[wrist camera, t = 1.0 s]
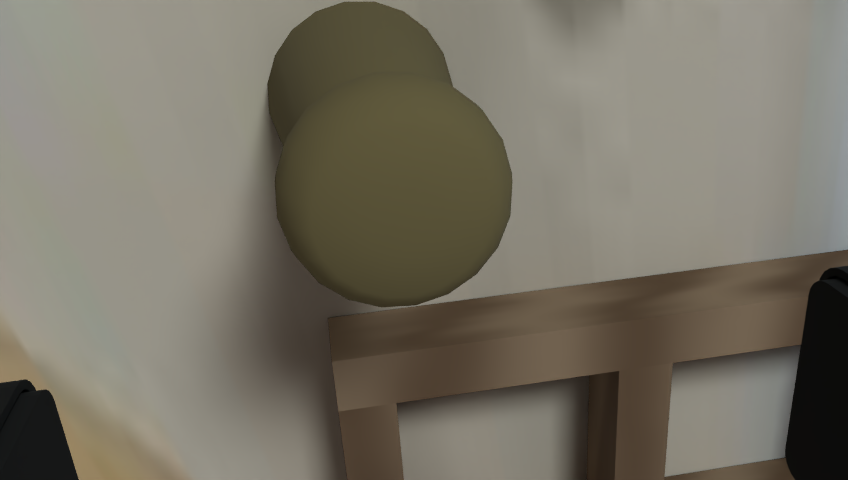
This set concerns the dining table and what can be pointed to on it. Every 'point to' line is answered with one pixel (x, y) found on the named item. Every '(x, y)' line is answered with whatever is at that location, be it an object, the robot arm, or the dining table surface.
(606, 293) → the caddy
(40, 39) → the dining table surface
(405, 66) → the olive tall rounded piece
